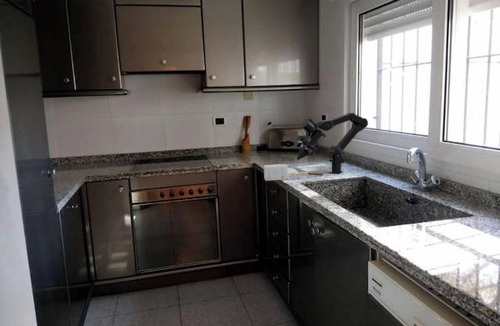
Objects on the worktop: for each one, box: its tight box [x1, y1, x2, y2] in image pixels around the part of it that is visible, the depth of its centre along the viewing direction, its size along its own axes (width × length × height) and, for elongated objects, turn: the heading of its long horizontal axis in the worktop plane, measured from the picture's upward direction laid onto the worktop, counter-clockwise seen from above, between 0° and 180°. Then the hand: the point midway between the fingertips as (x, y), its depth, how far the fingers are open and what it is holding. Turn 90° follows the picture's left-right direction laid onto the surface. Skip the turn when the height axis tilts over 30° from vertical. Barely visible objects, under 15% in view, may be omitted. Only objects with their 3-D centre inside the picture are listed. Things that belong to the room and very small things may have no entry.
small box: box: [263, 163, 289, 182], centre depth 214 cm, size 8×6×13 cm
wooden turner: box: [295, 171, 324, 176], centre depth 223 cm, size 6×16×1 cm, turn 58°
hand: (297, 159), depth 215 cm, fingers closed
